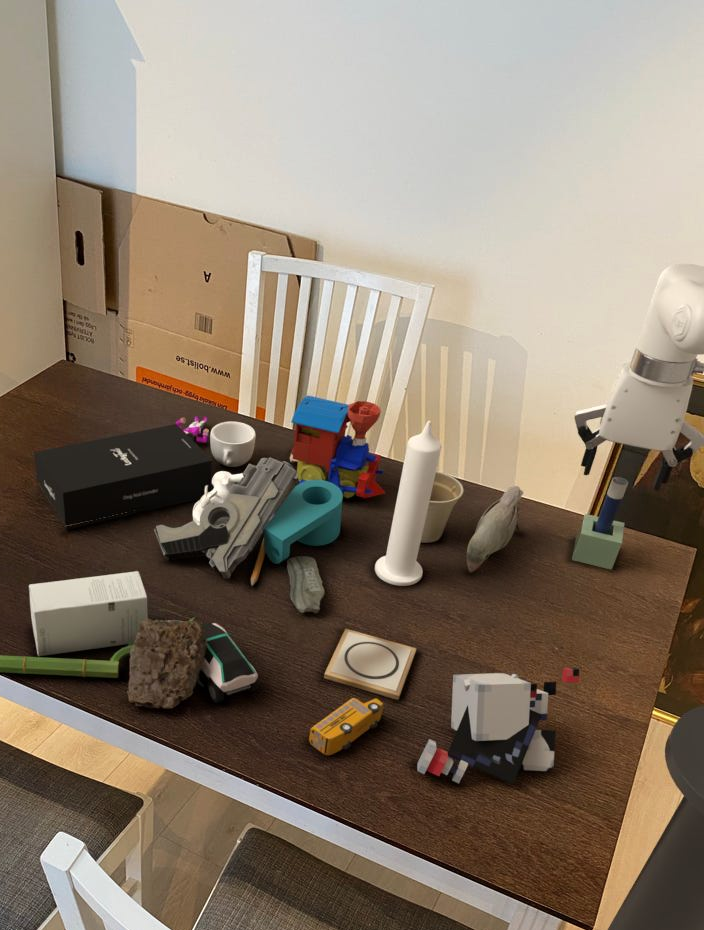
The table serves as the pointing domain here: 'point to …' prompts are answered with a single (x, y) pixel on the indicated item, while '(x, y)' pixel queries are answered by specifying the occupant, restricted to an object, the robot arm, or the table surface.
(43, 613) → the cosmetic box
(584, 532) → the pen stand
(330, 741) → the toy bus
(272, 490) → the toy gun
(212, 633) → the toy car
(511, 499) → the decorative bird
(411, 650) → the framed picture
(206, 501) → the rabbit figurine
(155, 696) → the concrete sample
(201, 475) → the box
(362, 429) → the toy train
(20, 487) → the table surface
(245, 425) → the teacup
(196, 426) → the character figurine
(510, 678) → the toy
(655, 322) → the robot arm
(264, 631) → the table surface
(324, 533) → the teal mechanical bracket
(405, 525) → the candle
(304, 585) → the stone
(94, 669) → the decorative plant
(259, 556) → the pencil
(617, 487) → the marker
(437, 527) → the flower pot
